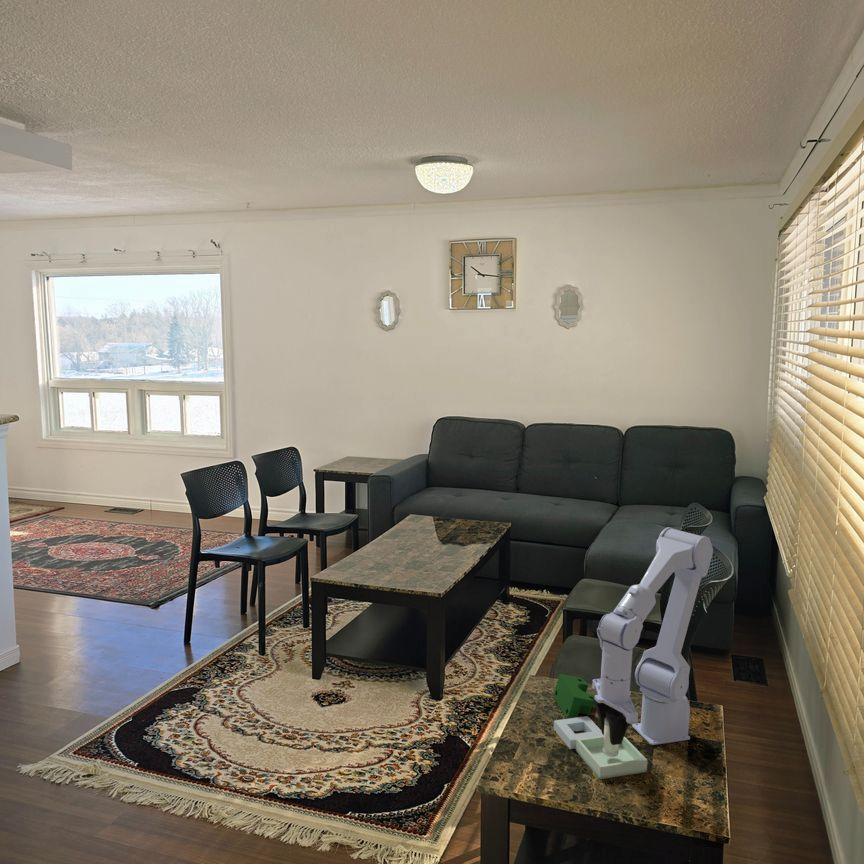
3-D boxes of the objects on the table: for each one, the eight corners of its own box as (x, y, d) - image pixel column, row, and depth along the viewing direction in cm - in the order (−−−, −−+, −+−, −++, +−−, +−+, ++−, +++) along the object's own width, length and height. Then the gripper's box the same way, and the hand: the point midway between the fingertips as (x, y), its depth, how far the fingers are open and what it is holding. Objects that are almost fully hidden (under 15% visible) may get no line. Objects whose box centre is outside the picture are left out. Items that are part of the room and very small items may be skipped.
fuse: (613, 747, 157) (615, 714, 156) (621, 755, 154) (623, 722, 153) (599, 749, 156) (601, 716, 155) (607, 757, 153) (609, 724, 152)
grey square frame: (587, 724, 169) (587, 716, 168) (605, 744, 161) (605, 735, 161) (553, 729, 166) (553, 720, 166) (570, 749, 159) (570, 740, 159)
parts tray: (620, 744, 161) (620, 732, 161) (646, 771, 152) (647, 760, 151) (575, 750, 158) (576, 739, 158) (599, 779, 149) (600, 767, 148)
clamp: (584, 735, 173) (601, 708, 168) (560, 730, 172) (575, 703, 167) (575, 691, 183) (591, 665, 179) (552, 686, 182) (566, 660, 178)
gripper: (580, 660, 158) (576, 722, 160) (616, 694, 144) (611, 761, 146) (611, 657, 160) (607, 718, 162) (649, 689, 146) (644, 756, 148)
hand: (611, 738), depth 154 cm, fingers closed on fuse, 3 cm apart
